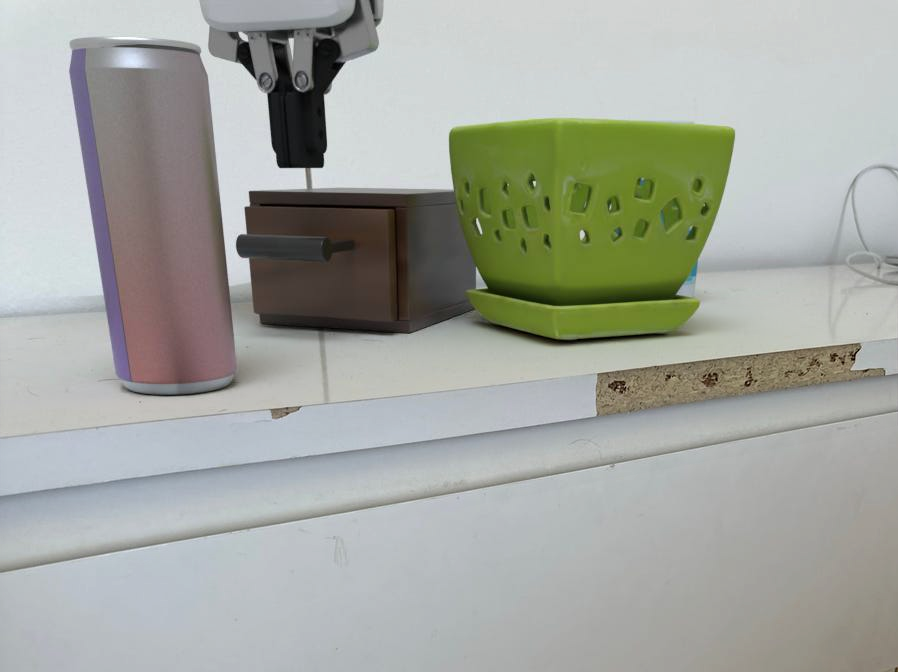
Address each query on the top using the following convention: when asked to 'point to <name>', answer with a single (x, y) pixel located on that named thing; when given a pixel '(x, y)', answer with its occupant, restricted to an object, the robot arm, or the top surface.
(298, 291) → the drawer
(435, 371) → the top surface
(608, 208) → the flower pot
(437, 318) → the cabinet
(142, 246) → the beverage can
